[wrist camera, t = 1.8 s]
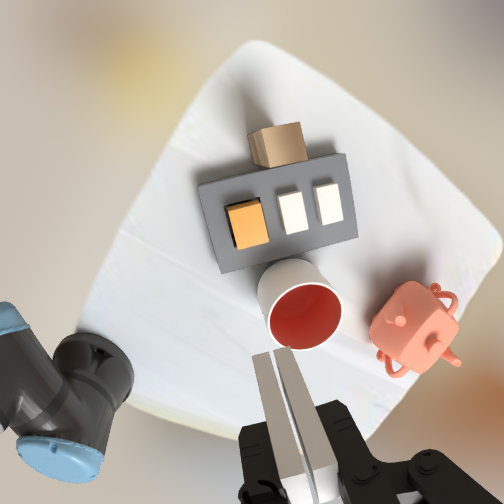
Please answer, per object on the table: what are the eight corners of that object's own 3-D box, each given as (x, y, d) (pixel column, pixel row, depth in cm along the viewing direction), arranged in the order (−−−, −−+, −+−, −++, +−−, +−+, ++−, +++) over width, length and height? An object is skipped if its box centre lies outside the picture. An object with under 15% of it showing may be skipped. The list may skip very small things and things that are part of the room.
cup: (254, 316, 50) (264, 353, 40) (257, 255, 47) (270, 282, 37) (315, 314, 51) (336, 348, 42) (323, 255, 48) (349, 281, 39)
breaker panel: (220, 266, 46) (221, 278, 42) (198, 185, 43) (196, 189, 38) (350, 232, 47) (363, 240, 43) (337, 153, 44) (349, 153, 39)
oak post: (254, 163, 43) (270, 167, 31) (247, 135, 41) (261, 129, 30) (282, 157, 43) (308, 159, 32) (275, 129, 42) (299, 121, 30)
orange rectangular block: (236, 242, 43) (238, 250, 40) (226, 206, 42) (228, 211, 39) (265, 235, 44) (269, 241, 40) (256, 199, 42) (260, 203, 39)
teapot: (360, 283, 50) (398, 320, 38) (438, 266, 52) (482, 293, 40) (357, 356, 55) (386, 400, 43) (428, 335, 57) (464, 369, 45)
